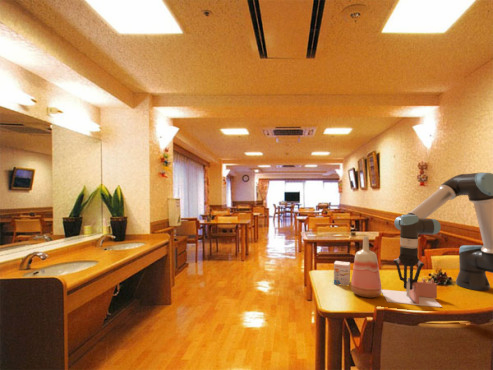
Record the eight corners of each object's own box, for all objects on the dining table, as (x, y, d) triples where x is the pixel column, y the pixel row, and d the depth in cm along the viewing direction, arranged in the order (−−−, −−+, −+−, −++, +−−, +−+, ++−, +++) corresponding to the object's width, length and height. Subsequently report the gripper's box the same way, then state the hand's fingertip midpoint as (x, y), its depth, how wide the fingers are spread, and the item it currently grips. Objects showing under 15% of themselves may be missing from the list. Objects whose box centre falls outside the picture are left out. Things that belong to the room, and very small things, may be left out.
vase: (379, 302, 137) (379, 239, 138) (348, 296, 145) (348, 236, 146) (383, 293, 150) (383, 236, 151) (354, 288, 157) (354, 233, 158)
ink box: (333, 284, 164) (333, 263, 165) (334, 280, 172) (334, 260, 173) (349, 286, 161) (349, 265, 161) (350, 282, 169) (350, 261, 169)
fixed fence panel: (435, 297, 144) (435, 279, 144) (436, 298, 142) (436, 280, 143) (407, 294, 147) (407, 277, 147) (408, 295, 146) (408, 278, 146)
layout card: (429, 294, 149) (429, 293, 149) (442, 307, 131) (442, 306, 131) (380, 290, 155) (380, 289, 155) (387, 301, 138) (387, 300, 138)
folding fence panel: (408, 295, 145) (408, 278, 145) (411, 296, 145) (411, 278, 145) (416, 303, 135) (416, 284, 135) (419, 303, 134) (418, 285, 135)
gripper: (393, 246, 139) (393, 295, 138) (425, 249, 133) (424, 301, 133) (393, 244, 145) (392, 291, 145) (423, 246, 140) (422, 295, 139)
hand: (407, 295), depth 139 cm, fingers closed
